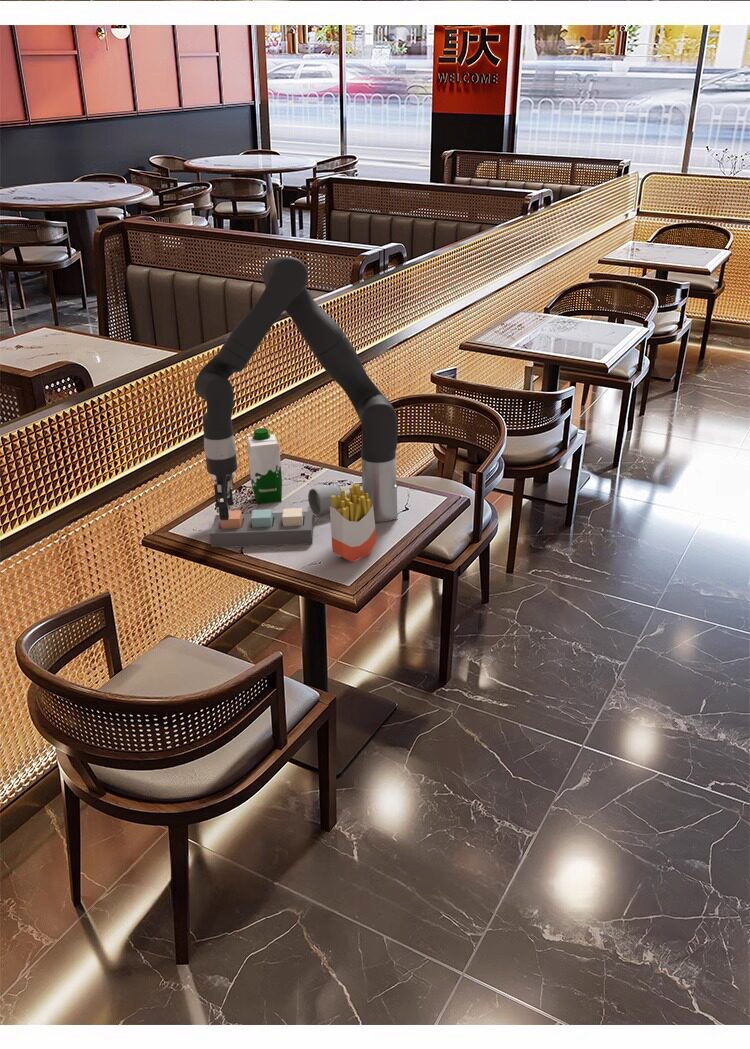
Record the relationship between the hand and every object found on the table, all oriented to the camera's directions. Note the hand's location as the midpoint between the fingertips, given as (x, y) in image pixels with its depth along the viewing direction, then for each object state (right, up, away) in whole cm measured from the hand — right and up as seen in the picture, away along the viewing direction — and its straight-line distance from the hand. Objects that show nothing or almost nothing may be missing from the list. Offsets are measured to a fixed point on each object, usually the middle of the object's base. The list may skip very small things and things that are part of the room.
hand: (226, 512), depth 218 cm
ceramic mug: (+23, +1, +22) cm, 32 cm away
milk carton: (+7, +4, +30) cm, 31 cm away
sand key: (+16, -3, +7) cm, 18 cm away
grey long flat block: (+8, -6, +8) cm, 13 cm away
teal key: (+8, -3, +7) cm, 11 cm away
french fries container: (+33, -11, -3) cm, 35 cm away
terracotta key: (0, -4, +7) cm, 8 cm away
